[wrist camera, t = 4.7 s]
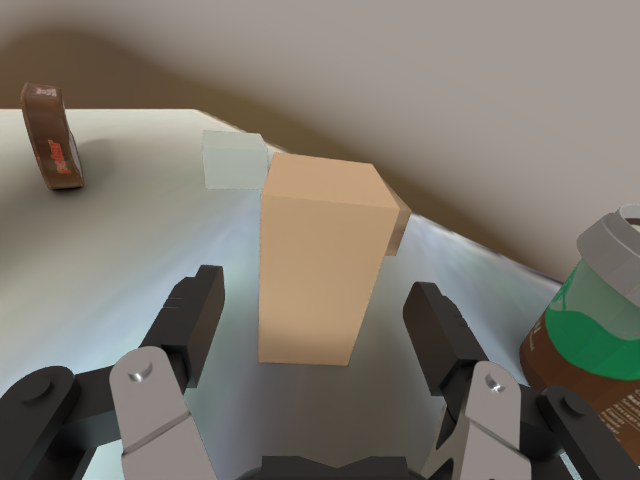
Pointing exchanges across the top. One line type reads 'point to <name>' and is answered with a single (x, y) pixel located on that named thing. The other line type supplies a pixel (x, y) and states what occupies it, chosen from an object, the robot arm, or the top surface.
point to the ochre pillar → (319, 256)
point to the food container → (596, 328)
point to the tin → (51, 136)
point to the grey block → (234, 160)
